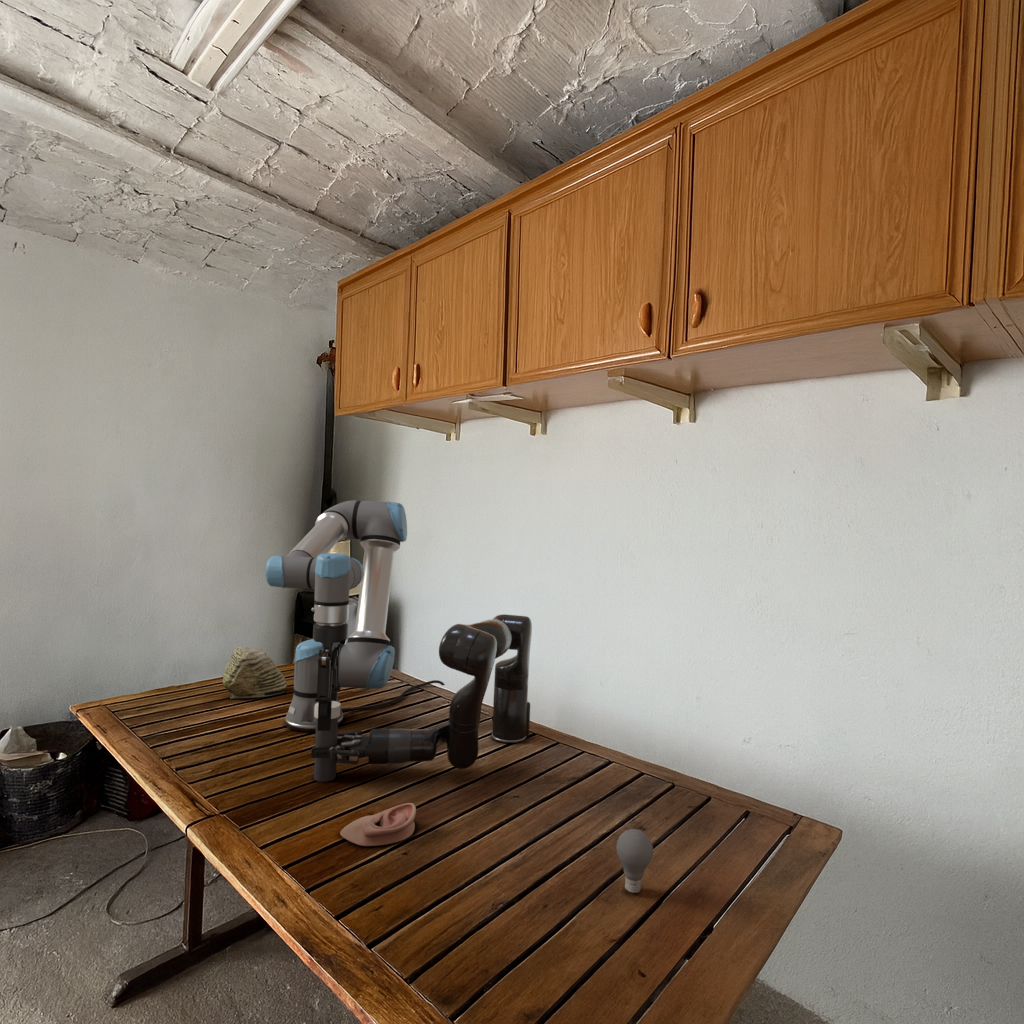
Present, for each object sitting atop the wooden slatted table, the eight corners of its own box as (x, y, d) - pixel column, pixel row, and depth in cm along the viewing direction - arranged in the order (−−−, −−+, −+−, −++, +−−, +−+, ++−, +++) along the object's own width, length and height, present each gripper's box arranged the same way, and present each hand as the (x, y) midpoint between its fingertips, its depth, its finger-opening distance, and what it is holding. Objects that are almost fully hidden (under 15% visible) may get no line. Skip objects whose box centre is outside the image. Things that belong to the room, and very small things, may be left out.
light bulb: (610, 879, 108) (613, 822, 108) (644, 879, 109) (647, 822, 109) (619, 902, 102) (622, 840, 102) (655, 901, 103) (658, 840, 103)
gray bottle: (327, 770, 146) (330, 701, 146) (340, 777, 143) (342, 706, 143) (309, 777, 143) (312, 706, 142) (322, 783, 140) (324, 711, 139)
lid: (330, 709, 147) (330, 699, 147) (345, 715, 143) (345, 704, 143) (309, 715, 142) (309, 704, 142) (324, 721, 139) (324, 710, 139)
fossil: (218, 695, 195) (220, 647, 195) (278, 685, 208) (279, 640, 207) (228, 703, 189) (230, 653, 188) (289, 692, 201) (290, 645, 201)
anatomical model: (332, 820, 116) (360, 792, 128) (332, 841, 116) (359, 811, 128) (400, 830, 114) (422, 801, 125) (400, 852, 114) (421, 821, 125)
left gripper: (322, 614, 151) (318, 710, 152) (304, 630, 133) (299, 740, 133) (354, 615, 152) (350, 711, 152) (340, 631, 134) (336, 740, 134)
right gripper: (391, 718, 152) (318, 720, 149) (390, 741, 138) (309, 743, 135) (390, 749, 152) (317, 751, 150) (389, 775, 138) (308, 778, 135)
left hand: (326, 724), depth 143 cm, fingers closed on lid, 6 cm apart
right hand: (313, 747), depth 142 cm, fingers closed on gray bottle, 4 cm apart
